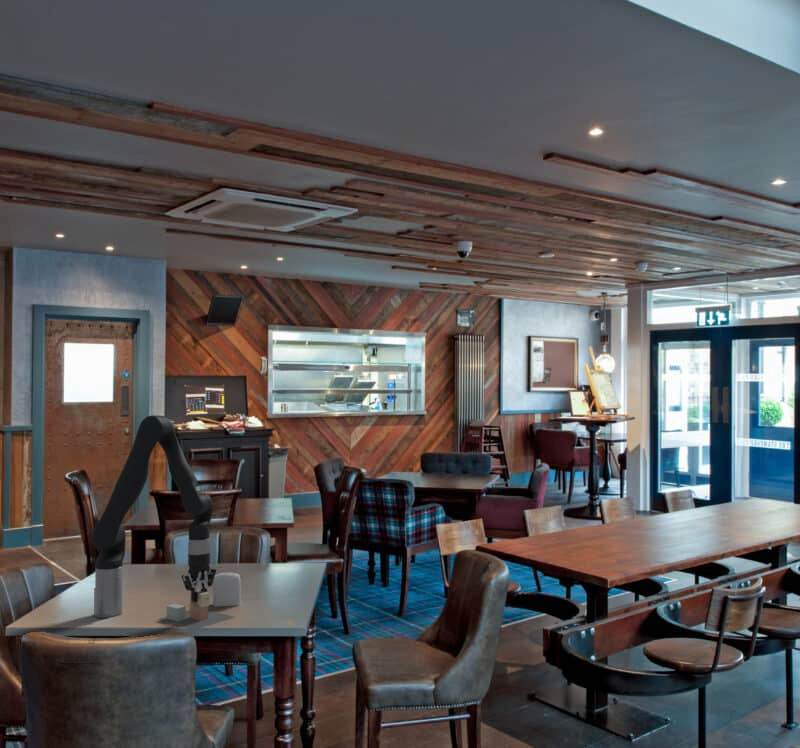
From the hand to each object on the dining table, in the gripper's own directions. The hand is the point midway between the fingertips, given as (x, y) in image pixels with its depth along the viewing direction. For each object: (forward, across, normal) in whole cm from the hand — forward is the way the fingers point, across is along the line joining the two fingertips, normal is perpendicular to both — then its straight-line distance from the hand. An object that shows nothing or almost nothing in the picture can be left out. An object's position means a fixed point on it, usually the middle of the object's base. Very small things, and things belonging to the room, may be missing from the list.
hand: (199, 600), depth 279 cm
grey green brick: (+6, +6, -6) cm, 10 cm away
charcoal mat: (+7, +1, -1) cm, 7 cm away
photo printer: (+7, -17, -6) cm, 20 cm away
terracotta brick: (+6, 0, 0) cm, 6 cm away
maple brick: (+2, 0, 0) cm, 2 cm away
